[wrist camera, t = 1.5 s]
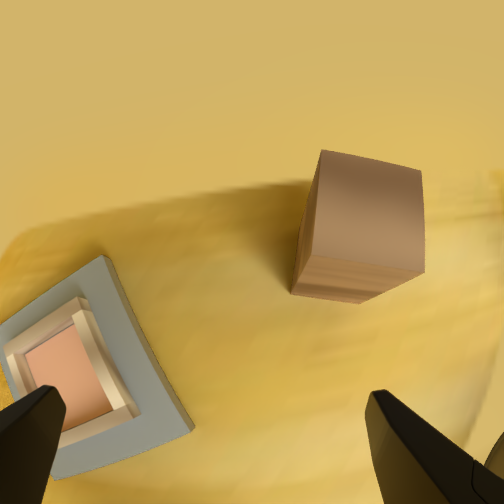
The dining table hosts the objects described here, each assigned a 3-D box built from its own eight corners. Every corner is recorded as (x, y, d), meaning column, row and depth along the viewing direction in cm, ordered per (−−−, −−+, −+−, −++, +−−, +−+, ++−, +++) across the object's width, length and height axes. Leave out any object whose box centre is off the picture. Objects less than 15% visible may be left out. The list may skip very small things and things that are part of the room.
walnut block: (359, 303, 21) (424, 272, 12) (290, 294, 22) (311, 254, 12) (364, 237, 23) (421, 170, 13) (299, 227, 23) (321, 149, 14)
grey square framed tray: (195, 426, 19) (185, 438, 16) (63, 475, 18) (44, 485, 15) (110, 259, 23) (92, 248, 20) (2, 333, 21) (-20, 329, 19)
